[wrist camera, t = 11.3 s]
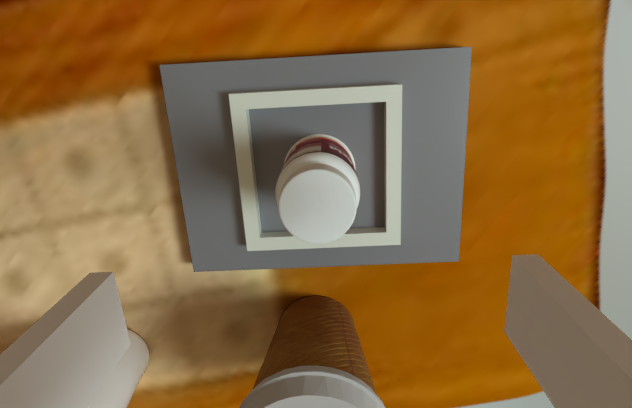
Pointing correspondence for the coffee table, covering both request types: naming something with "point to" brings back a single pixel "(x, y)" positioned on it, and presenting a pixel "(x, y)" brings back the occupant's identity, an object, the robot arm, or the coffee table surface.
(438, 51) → the socket plate
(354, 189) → the pill bottle
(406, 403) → the coffee table surface
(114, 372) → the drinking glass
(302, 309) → the disposable coffee cup
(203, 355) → the coffee table surface
